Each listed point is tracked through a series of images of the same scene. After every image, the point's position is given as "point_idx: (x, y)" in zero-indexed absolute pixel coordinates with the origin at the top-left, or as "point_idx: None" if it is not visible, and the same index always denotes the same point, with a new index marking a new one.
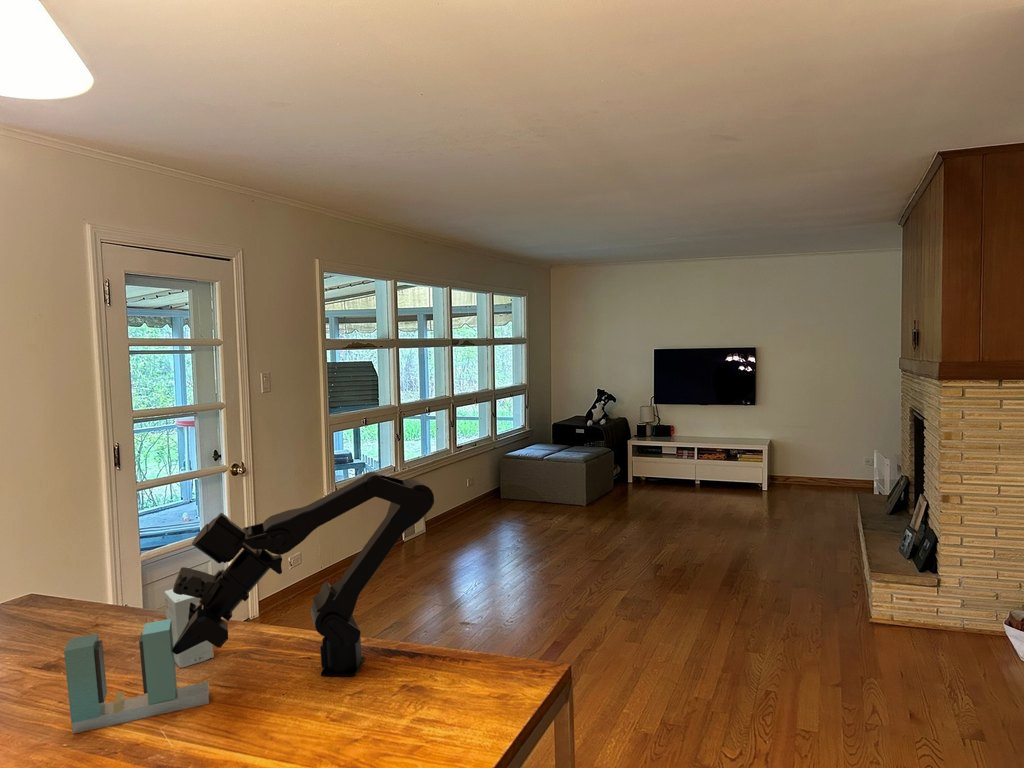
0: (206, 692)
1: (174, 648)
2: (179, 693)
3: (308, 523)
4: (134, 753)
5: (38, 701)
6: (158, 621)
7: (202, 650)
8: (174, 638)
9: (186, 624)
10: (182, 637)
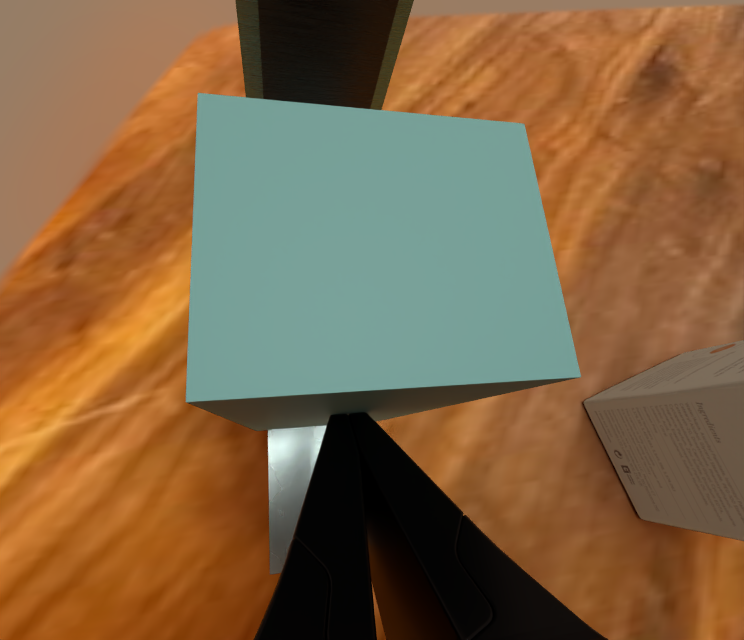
0: (270, 567)
1: (327, 432)
2: (316, 439)
3: None
4: (14, 322)
5: (487, 63)
6: (541, 242)
7: (656, 484)
8: (706, 369)
9: (503, 565)
10: (298, 529)
